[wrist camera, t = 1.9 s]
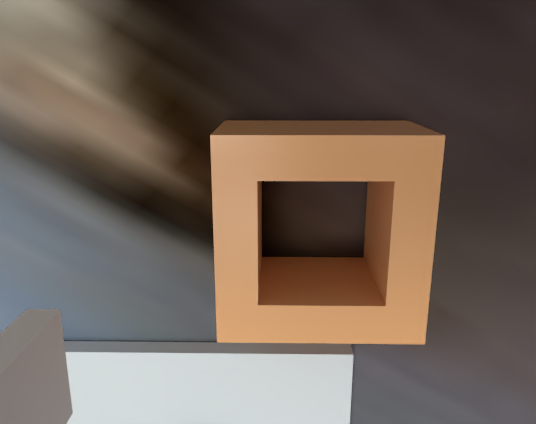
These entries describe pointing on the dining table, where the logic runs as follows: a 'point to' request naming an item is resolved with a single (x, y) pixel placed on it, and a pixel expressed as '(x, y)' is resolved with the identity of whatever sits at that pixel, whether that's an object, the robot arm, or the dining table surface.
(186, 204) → the dining table surface
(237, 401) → the post stand
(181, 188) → the dining table surface
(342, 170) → the collar
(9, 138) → the dining table surface
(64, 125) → the dining table surface
